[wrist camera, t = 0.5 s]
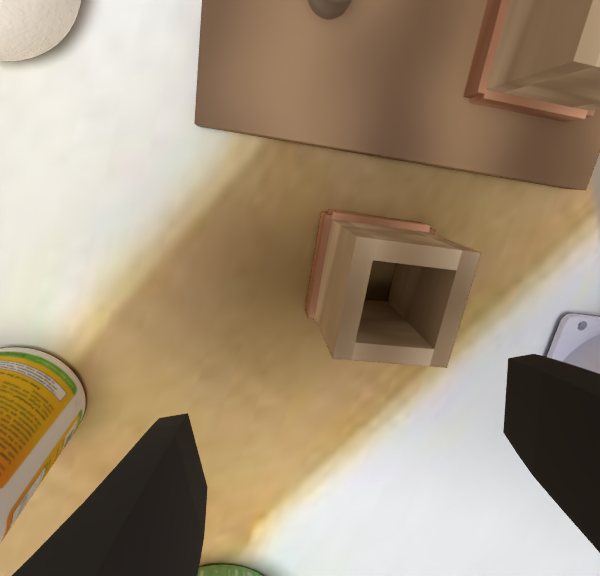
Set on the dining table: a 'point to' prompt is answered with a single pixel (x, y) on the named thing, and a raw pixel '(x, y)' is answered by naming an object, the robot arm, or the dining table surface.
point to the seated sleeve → (538, 58)
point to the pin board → (376, 87)
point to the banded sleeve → (403, 295)
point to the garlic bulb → (34, 26)
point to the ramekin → (226, 571)
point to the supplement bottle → (33, 423)
